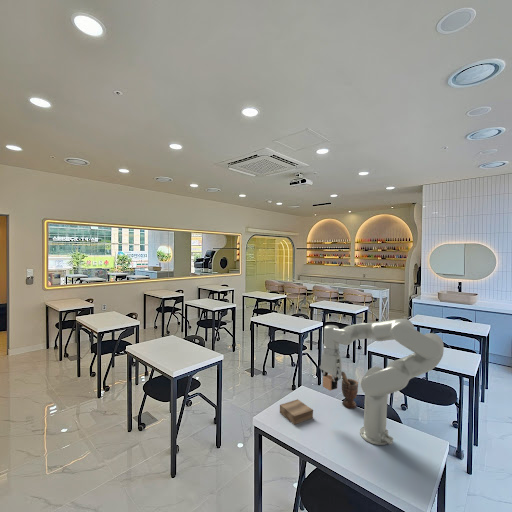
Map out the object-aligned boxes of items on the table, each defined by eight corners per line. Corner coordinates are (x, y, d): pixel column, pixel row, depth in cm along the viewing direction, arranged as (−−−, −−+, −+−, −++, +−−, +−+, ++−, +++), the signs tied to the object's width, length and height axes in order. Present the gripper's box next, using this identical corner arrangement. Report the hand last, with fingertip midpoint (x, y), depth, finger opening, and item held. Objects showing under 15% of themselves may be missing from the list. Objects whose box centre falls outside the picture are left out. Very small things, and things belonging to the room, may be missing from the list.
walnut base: (312, 417, 147) (313, 409, 147) (294, 424, 140) (294, 416, 140) (297, 406, 157) (297, 399, 157) (279, 412, 151) (279, 404, 151)
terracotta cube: (337, 388, 144) (337, 378, 144) (330, 390, 142) (330, 380, 142) (329, 384, 149) (330, 374, 149) (322, 386, 146) (323, 376, 146)
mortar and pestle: (352, 413, 152) (353, 376, 151) (336, 407, 157) (337, 371, 157) (359, 405, 161) (360, 369, 161) (344, 399, 166) (345, 365, 166)
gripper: (349, 354, 140) (348, 391, 140) (324, 344, 154) (323, 378, 155) (338, 357, 136) (337, 395, 136) (313, 346, 150) (312, 381, 151)
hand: (330, 385), depth 145 cm, fingers closed on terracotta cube, 5 cm apart
